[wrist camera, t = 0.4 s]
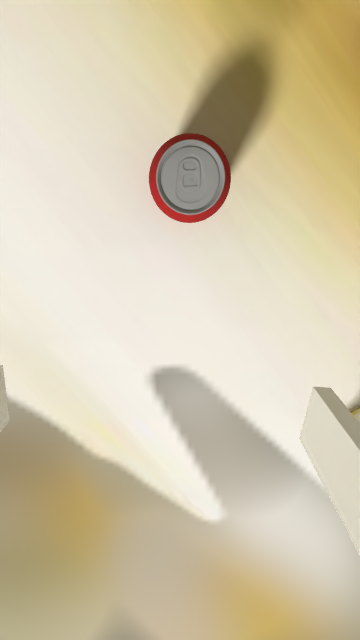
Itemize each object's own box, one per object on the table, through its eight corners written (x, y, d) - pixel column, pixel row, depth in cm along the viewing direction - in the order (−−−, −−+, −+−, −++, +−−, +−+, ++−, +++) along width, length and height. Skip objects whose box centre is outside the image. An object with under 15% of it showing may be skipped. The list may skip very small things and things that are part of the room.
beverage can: (159, 219, 37) (150, 226, 25) (154, 154, 34) (142, 130, 23) (216, 216, 37) (234, 222, 25) (216, 151, 34) (235, 125, 23)
